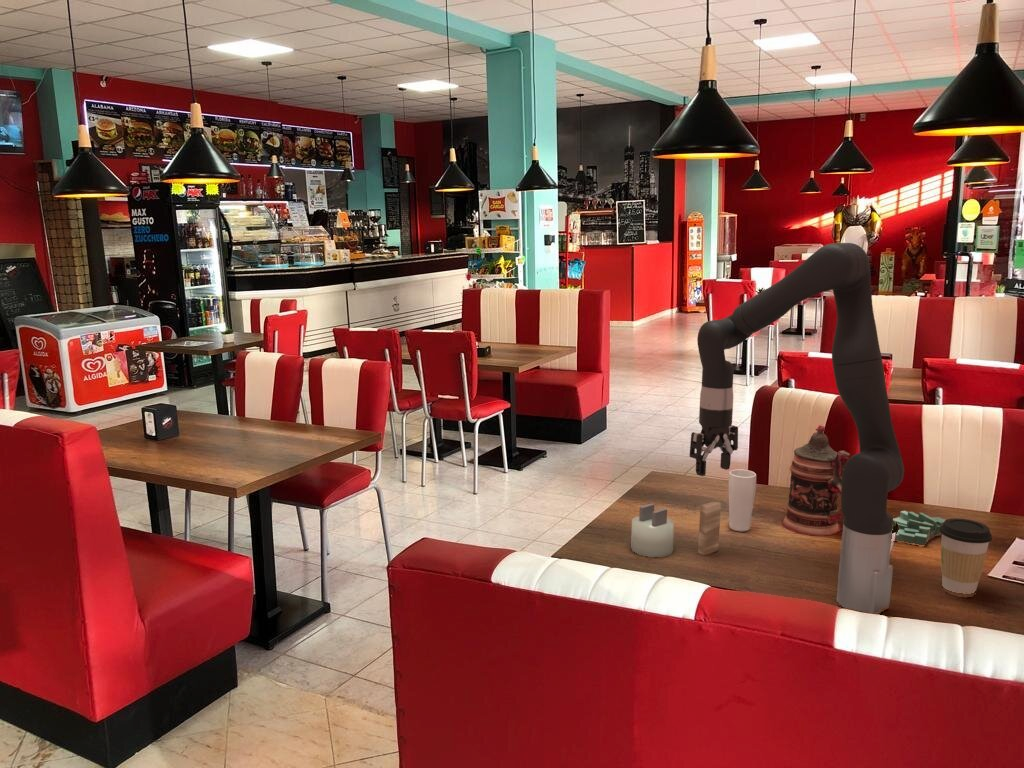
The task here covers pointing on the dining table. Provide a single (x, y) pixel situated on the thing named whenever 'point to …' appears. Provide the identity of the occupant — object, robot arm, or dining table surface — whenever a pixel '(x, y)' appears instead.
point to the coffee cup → (963, 554)
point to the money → (917, 527)
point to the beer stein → (815, 488)
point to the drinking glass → (741, 498)
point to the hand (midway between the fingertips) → (713, 471)
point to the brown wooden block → (709, 527)
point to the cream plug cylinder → (652, 532)
